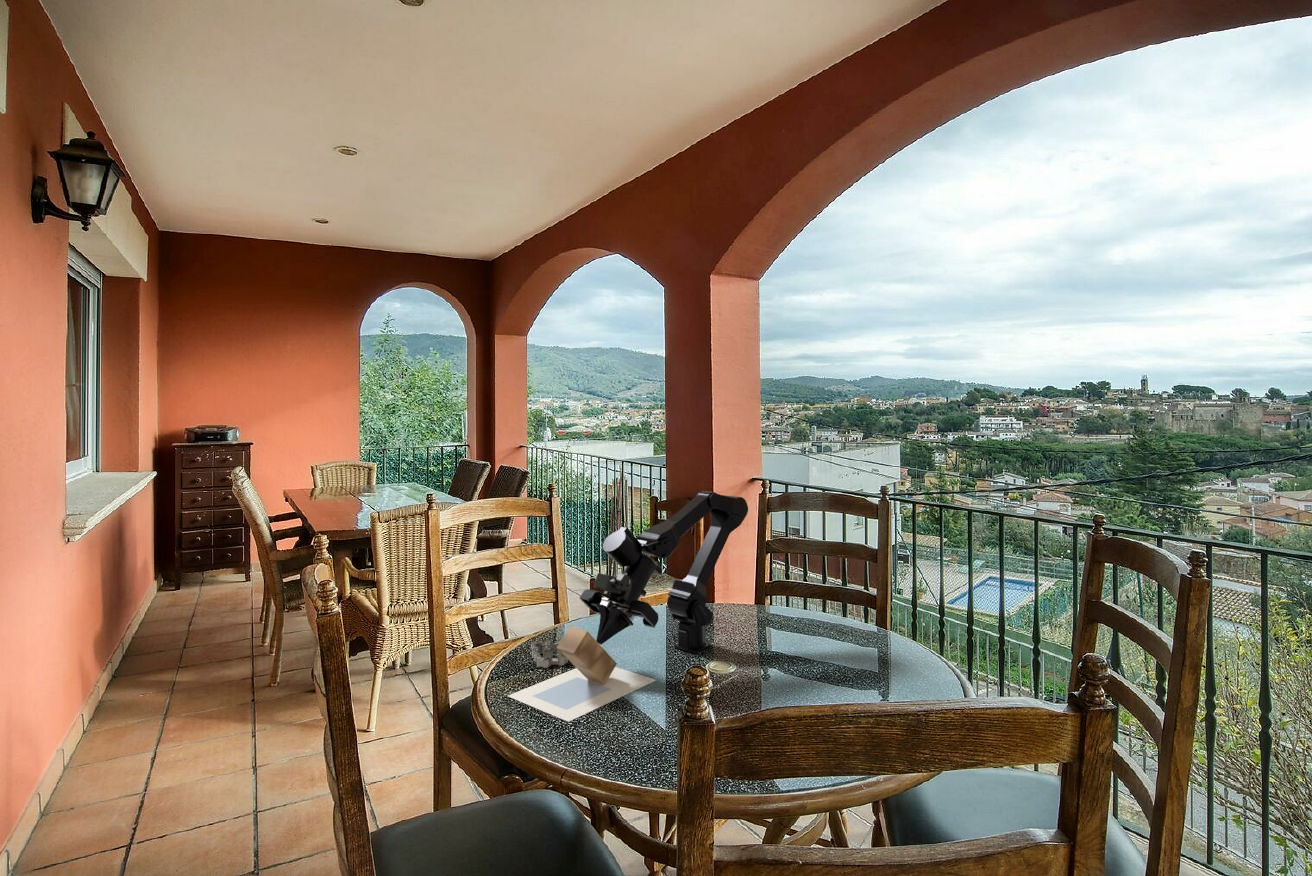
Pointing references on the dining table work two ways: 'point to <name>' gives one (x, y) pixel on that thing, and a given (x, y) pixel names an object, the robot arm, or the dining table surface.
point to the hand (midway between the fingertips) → (598, 643)
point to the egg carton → (547, 654)
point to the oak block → (587, 655)
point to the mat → (579, 692)
